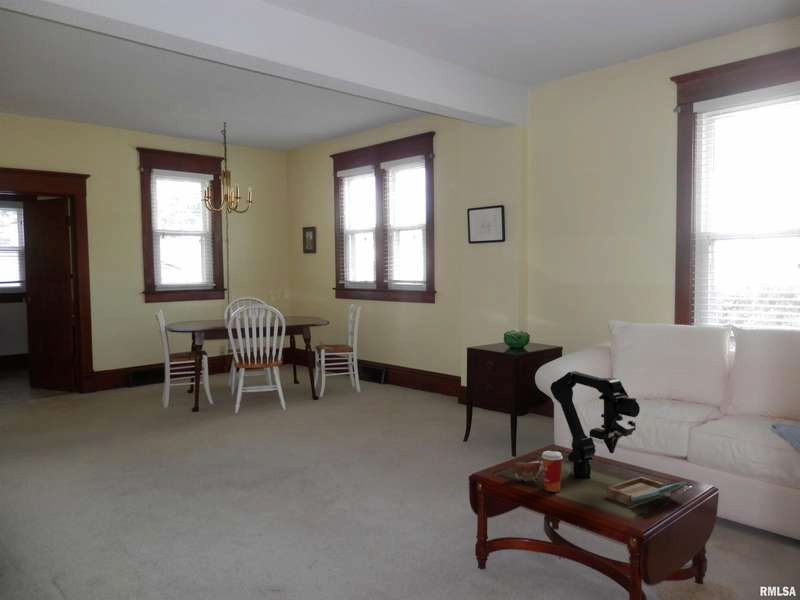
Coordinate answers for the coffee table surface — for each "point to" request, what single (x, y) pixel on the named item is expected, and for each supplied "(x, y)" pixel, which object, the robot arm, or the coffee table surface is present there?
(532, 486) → the coffee table surface
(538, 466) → the bull figurine
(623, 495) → the tray
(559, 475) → the paper cup
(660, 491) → the tailgate
